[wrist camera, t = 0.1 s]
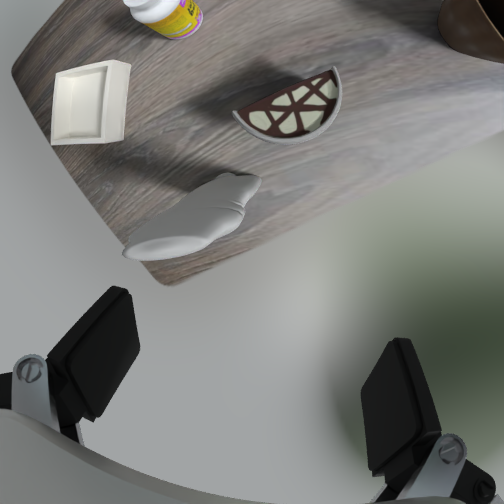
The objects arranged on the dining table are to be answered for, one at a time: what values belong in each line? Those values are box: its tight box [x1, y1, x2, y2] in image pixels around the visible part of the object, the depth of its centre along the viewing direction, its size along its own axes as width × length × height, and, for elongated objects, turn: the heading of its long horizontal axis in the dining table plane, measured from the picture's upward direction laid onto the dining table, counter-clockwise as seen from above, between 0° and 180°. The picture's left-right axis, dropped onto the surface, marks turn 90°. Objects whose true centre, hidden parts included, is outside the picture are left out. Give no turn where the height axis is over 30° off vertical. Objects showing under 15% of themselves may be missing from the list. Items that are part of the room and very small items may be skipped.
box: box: [51, 60, 131, 145], centre depth 33 cm, size 13×13×5 cm
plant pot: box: [438, 0, 504, 64], centre depth 15 cm, size 15×15×16 cm
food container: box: [232, 66, 342, 145], centre depth 29 cm, size 12×6×10 cm, turn 117°
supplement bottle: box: [123, 0, 203, 39], centre depth 23 cm, size 7×7×13 cm
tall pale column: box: [122, 172, 262, 261], centre depth 29 cm, size 11×4×22 cm, turn 102°
